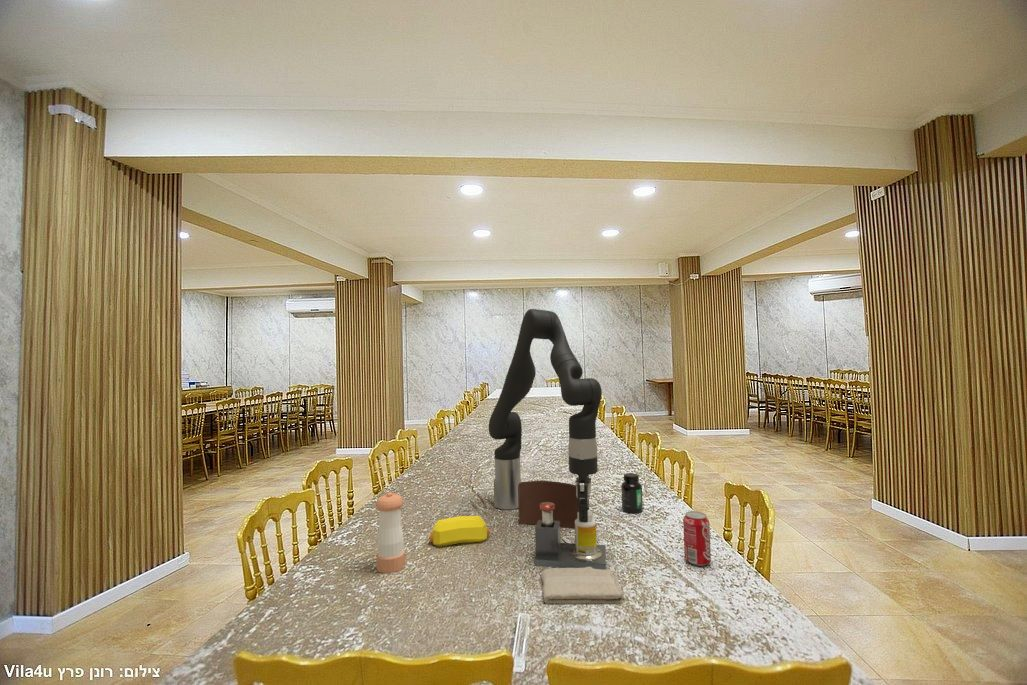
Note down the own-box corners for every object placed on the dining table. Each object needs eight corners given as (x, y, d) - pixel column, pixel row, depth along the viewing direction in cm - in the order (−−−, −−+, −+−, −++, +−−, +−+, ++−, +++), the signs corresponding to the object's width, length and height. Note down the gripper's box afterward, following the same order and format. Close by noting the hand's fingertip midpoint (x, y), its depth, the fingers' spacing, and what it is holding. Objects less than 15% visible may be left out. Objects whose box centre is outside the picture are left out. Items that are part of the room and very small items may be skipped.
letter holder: (580, 529, 138) (578, 483, 139) (518, 524, 144) (516, 480, 144) (584, 517, 148) (583, 474, 148) (526, 513, 154) (525, 471, 154)
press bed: (534, 565, 116) (533, 532, 116) (540, 547, 126) (539, 516, 127) (606, 570, 112) (604, 535, 112) (605, 550, 123) (604, 519, 123)
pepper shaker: (379, 575, 113) (377, 498, 113) (374, 564, 119) (372, 491, 119) (408, 568, 116) (406, 493, 116) (401, 557, 122) (400, 486, 123)
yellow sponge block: (492, 542, 131) (488, 532, 138) (491, 519, 131) (487, 510, 138) (429, 550, 127) (428, 539, 134) (428, 526, 127) (428, 517, 135)
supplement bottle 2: (645, 513, 150) (643, 477, 150) (624, 514, 150) (623, 477, 150) (639, 506, 156) (638, 471, 157) (620, 507, 156) (618, 472, 157)
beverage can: (710, 557, 117) (708, 511, 117) (712, 569, 111) (710, 520, 111) (684, 555, 119) (682, 509, 119) (685, 565, 113) (683, 517, 113)
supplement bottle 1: (601, 554, 117) (599, 514, 117) (582, 558, 115) (580, 517, 115) (590, 545, 122) (588, 507, 123) (571, 549, 120) (570, 510, 121)
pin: (539, 537, 119) (538, 506, 119) (541, 531, 123) (540, 501, 123) (554, 538, 118) (553, 507, 118) (556, 532, 122) (555, 502, 122)
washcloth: (626, 606, 97) (625, 591, 97) (543, 607, 97) (542, 593, 98) (615, 578, 109) (614, 565, 109) (541, 579, 109) (540, 566, 109)
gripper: (570, 447, 127) (571, 505, 127) (566, 460, 113) (567, 525, 113) (597, 448, 125) (599, 506, 125) (596, 461, 111) (598, 527, 111)
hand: (584, 515), depth 119 cm, fingers open, 8 cm apart
